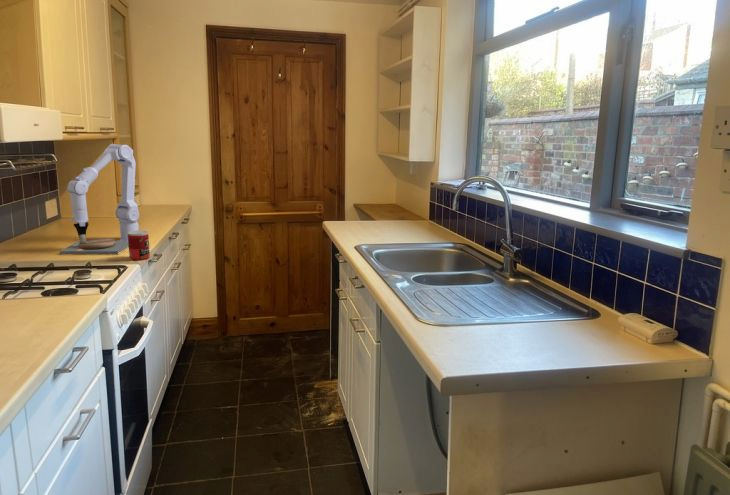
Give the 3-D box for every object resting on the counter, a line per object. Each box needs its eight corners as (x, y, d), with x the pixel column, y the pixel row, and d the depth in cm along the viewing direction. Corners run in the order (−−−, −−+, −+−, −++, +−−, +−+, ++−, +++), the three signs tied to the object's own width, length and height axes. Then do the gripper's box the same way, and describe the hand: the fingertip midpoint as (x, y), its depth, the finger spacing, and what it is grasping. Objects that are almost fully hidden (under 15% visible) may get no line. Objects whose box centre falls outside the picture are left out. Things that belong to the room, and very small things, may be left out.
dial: (77, 243, 241) (76, 232, 240) (111, 240, 249) (110, 229, 247) (82, 250, 230) (80, 238, 229) (118, 246, 237) (117, 235, 236)
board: (79, 243, 248) (78, 240, 247) (132, 244, 250) (131, 240, 250) (60, 254, 229) (60, 250, 229) (117, 254, 232) (117, 250, 231)
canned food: (143, 261, 223) (141, 234, 220) (125, 259, 224) (123, 233, 222) (153, 256, 230) (152, 231, 228) (136, 255, 232) (134, 229, 229)
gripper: (67, 206, 238) (70, 237, 241) (70, 212, 226) (73, 244, 229) (85, 205, 241) (88, 235, 245) (89, 210, 230) (92, 242, 233)
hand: (82, 239), depth 237 cm, fingers closed
